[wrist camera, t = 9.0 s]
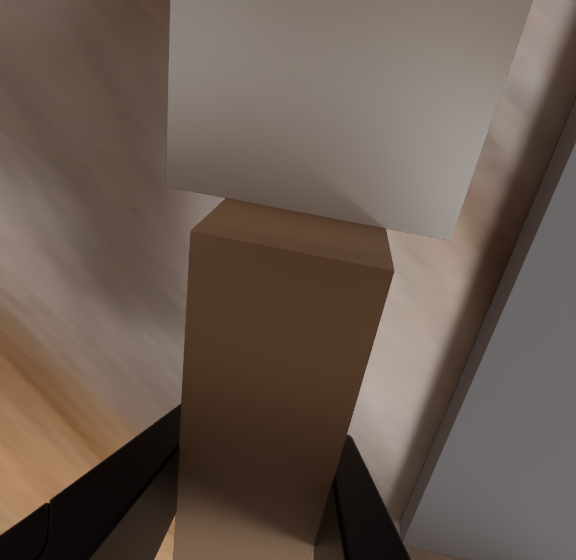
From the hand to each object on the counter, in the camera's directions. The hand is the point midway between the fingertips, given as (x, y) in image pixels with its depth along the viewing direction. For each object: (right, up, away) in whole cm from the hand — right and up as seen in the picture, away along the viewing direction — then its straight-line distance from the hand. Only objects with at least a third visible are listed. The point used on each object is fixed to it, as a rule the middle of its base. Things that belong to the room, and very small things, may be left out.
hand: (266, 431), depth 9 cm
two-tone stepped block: (+1, +4, -1) cm, 4 cm away
